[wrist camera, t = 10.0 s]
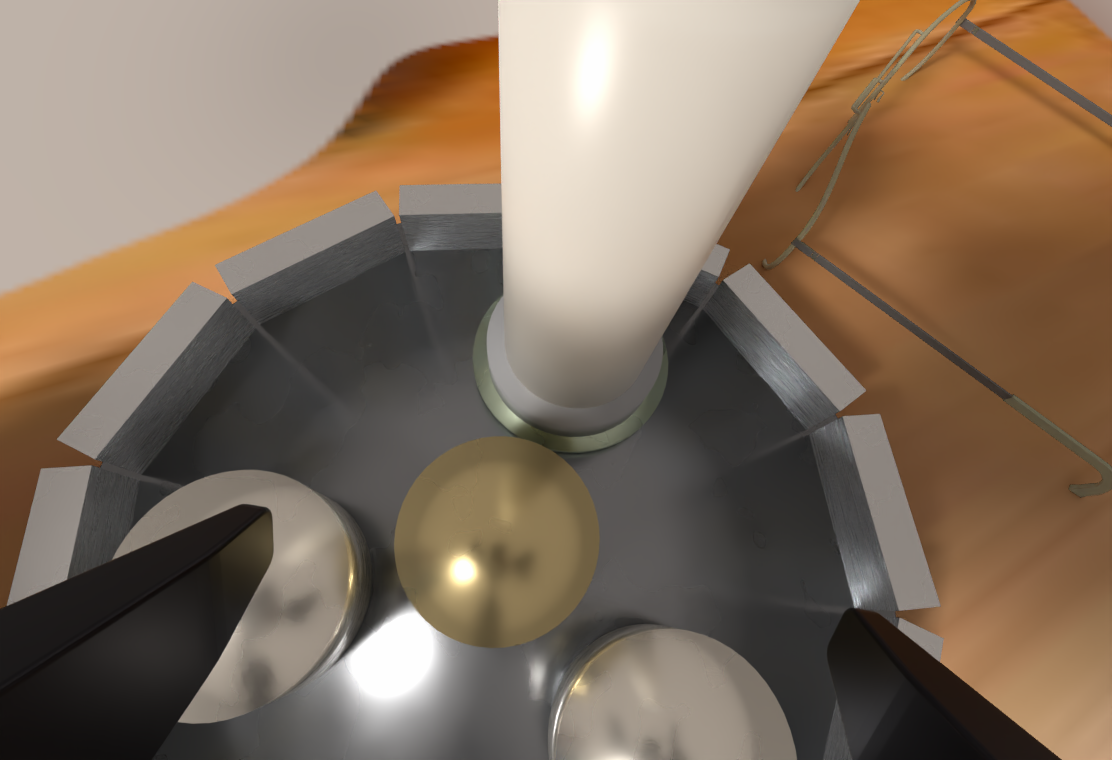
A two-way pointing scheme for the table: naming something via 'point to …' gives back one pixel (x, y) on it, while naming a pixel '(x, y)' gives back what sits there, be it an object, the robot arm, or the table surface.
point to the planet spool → (627, 179)
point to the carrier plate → (648, 495)
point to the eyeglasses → (1108, 482)
